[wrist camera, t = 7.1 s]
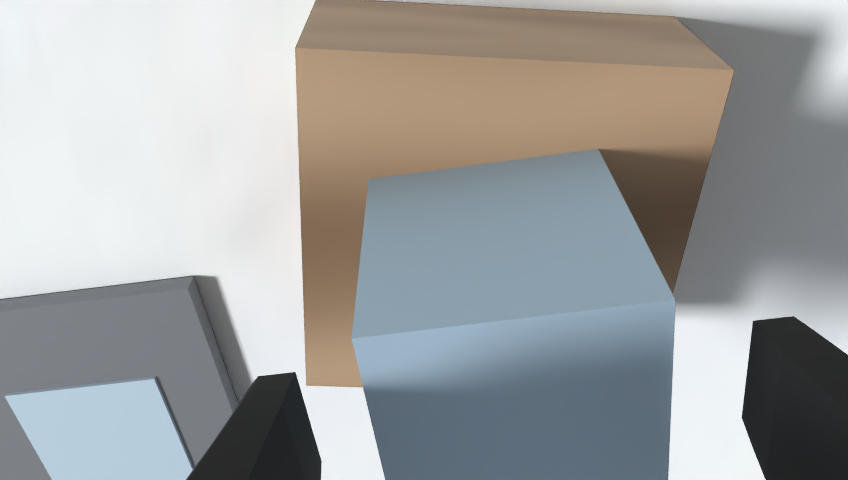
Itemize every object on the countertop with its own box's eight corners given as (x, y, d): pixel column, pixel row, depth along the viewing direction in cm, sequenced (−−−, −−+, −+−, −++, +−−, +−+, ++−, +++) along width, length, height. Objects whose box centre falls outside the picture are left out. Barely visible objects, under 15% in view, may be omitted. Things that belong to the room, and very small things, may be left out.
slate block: (601, 331, 17) (666, 516, 13) (403, 354, 17) (401, 543, 13) (598, 149, 15) (675, 299, 10) (368, 179, 15) (351, 339, 11)
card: (279, 518, 26) (276, 536, 25) (51, 542, 26) (43, 560, 25) (193, 276, 20) (186, 290, 20) (-90, 310, 21) (-105, 326, 20)
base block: (606, 297, 21) (644, 396, 18) (323, 287, 21) (306, 385, 18) (670, 12, 17) (734, 70, 14) (318, -6, 17) (295, 48, 13)
